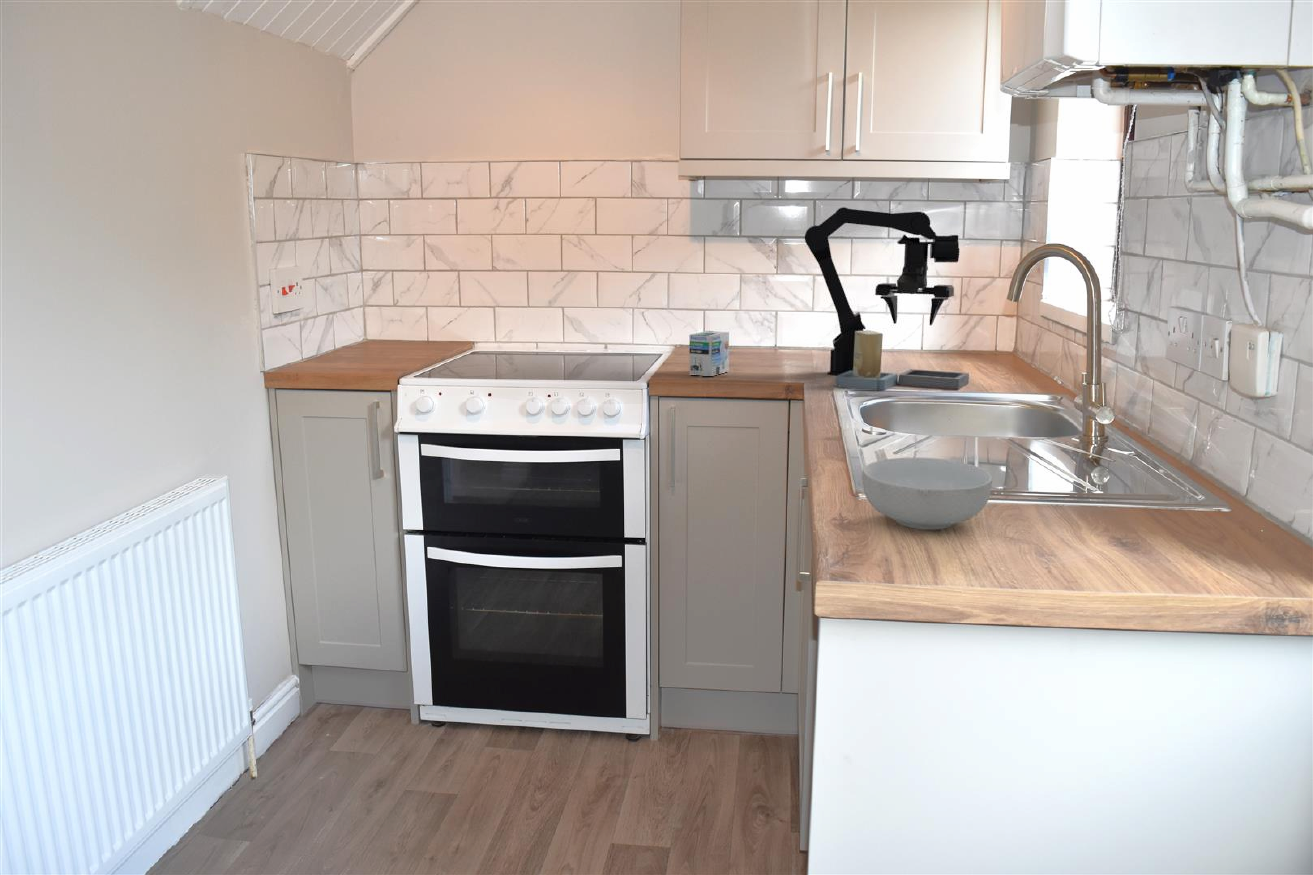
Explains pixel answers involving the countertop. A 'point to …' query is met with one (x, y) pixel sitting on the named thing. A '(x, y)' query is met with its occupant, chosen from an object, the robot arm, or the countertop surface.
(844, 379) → the slate tray
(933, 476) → the cereal bowl
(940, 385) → the metal collar
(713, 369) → the light bulb box
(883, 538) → the countertop surface
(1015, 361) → the countertop surface
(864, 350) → the skincare box
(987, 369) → the countertop surface
